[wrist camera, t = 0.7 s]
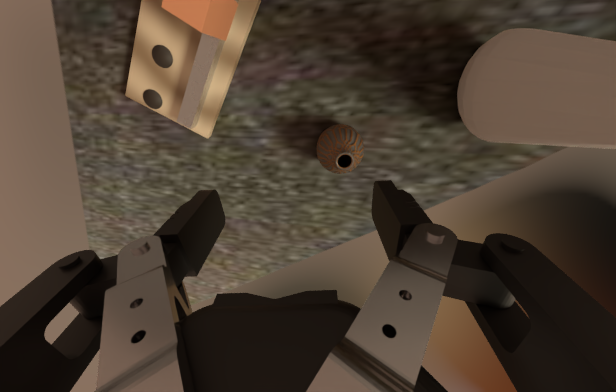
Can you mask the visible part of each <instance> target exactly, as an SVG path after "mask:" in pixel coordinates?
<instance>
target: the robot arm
mask: <svg viewBox="0 0 616 392" xmlns="http://www.w3.org/2000/svg"><path fill="white" fill-rule="evenodd" d="M372 218H373V221H374V224H375V226H376V229H377V231H378V234H379V236H380V239H381V241H382V244H383V246H384V249H385V251H386V253H387V256H388V259H389V261H390V262H389V263H388V265H387V267H386V268H385V270H384V272H383V274H382V275H381V277H380V278H379V280H378V282H377V283H376V285H375V287H374V289H373V290H372V292H371V293H370V295H369V297H368V298H367V300H366V302H365V304H364V305H363V307H362V308H361V309H360V308H358V307H357V306H355V305H353V304H351V303H348V302H345V301H341V300H338V299H337V291H336V290H322V291H305V292H301V293H297V294H293V295H290V296H286V297H282V298H278V299H271V298H267V297H262V296H257V295H253V294H249V293H227V294H217V296H216V298H215V300H214V303H213V304H212V305H209V306H206V307H204V308H201V309H199V310H197V311H195V312H192V309H191V305H190V302H189V298H188V295H187V292H186V288H185V285H184V283H183V279H184V277H187V276H197V275H198V273H199V271H200V269H201V268H202V266H203V264H204V262H205V260H206V259H207V257H208V255H209V253H210V251H211V249H212V248H213V246H214V244H215V242H216V240H217V239H218V237H219V235H220V233H221V231H222V229H223V228H224V225H225V214H224V211H223V208H222V204H221V201H220V198H219V195H218V192H217V191H216V190H200V191H198V192H197V194H196V195H195V196H194V197H193V198H192V199H191V200H190V201H188V202H187V203H185V204H183V205H182V206H180V207H179V209H178V210H177V211H176V212H175V214H173V215H172V216H171V217H170V219H168V220H167V221H166V222H165V223H164V224H163V226H162V227H161V228H160V229H159V230H158V231H157V232H156V233H155V234H154V235H152V236H145V237H141V238H138V239H136V240H134V241H132V242H130V243H129V244H127V245H126V246H124V247H123V248H122V249H121V250H120V252H119V253H118V255H116V256H112V257H108V258H104V259H100V258H99V257H98V256H97V254H96V253H95V252H94V251H92V250H84V251H79V252H76V253H73V254H71V255H68V256H66V257H64V258H62V259H60V260H59V261H57V262H55V263H54V264H53V265H51V266H50V267H49V268H48V269H46V270H45V271H44V272H43V273H41V274H40V275H39V276H38V277H36V278H35V279H34V280H33V281H31V282H30V283H29V284H28V285H27V286H25V287H24V288H23V289H22V290H20V291H19V292H18V293H17V294H15V295H14V296H13V297H12V298H10V299H9V300H8V301H7V302H5V303H4V304H3V305H2V306H1V307H0V392H70V391H71V389H72V388H73V386H74V385H75V383H76V382H77V381H78V379H79V378H80V376H81V375H82V373H83V372H84V370H85V369H86V368H87V366H88V365H89V363H90V362H91V361H92V359H93V358H94V356H95V355H96V353H97V352H98V351H99V349H100V354H99V366H98V377H97V387H96V391H95V392H448V391H447V390H446V389H445V388H444V387H443V386H442V385H441V384H440V383H439V382H438V381H437V380H436V379H434V377H433V376H432V375H430V374H429V372H427V370H426V369H425V368H424V367H423V366H422V365H421V364H422V360H423V357H424V354H425V351H426V347H427V344H428V341H429V337H430V334H431V331H432V327H433V324H434V320H435V317H436V314H437V311H438V307H439V304H440V300H441V297H442V296H447V297H451V298H455V299H459V300H463V301H465V302H466V304H467V306H468V308H469V309H470V311H471V313H472V314H473V316H474V318H475V320H476V321H477V323H478V325H479V327H480V328H481V330H482V332H483V333H484V335H485V337H486V338H487V340H488V342H489V344H490V345H491V347H492V349H493V350H494V352H495V354H496V356H497V358H498V359H499V361H500V362H501V364H502V366H503V368H504V369H505V371H506V373H507V375H508V376H509V378H510V380H511V382H512V383H513V385H514V387H515V388H516V390H517V392H616V318H615V317H614V316H613V315H612V314H611V313H609V312H608V311H607V310H606V309H605V308H604V307H603V306H602V305H600V304H599V303H598V302H597V301H596V300H595V299H593V298H592V297H591V296H590V295H589V294H588V293H587V292H586V291H584V290H583V289H582V288H581V287H580V286H579V285H577V284H576V283H575V282H574V281H573V280H572V279H571V278H570V277H568V276H567V275H566V274H565V273H564V272H563V271H562V270H560V269H559V268H558V267H557V266H556V265H555V264H553V262H551V261H550V260H549V259H548V258H547V257H546V256H545V255H543V254H542V253H541V252H540V251H539V250H538V249H537V248H535V247H534V246H533V245H531V244H530V243H528V242H527V241H524V240H523V239H520V238H518V237H515V236H512V235H507V234H500V233H496V234H490V235H488V236H487V237H486V239H485V241H484V243H483V244H481V243H475V242H468V241H463V240H458V239H457V236H456V235H455V234H454V233H453V232H452V231H451V230H450V229H448V228H446V227H444V226H441V225H438V224H433V223H432V221H431V220H430V219H429V217H428V216H427V215H426V214H425V212H424V211H423V210H422V208H421V207H420V206H419V204H418V203H417V202H416V201H415V199H414V198H413V197H412V195H411V194H409V193H407V192H406V191H404V190H397V188H396V187H395V185H394V184H393V182H392V181H391V180H389V181H375V183H374V188H373V199H372ZM515 299H516V300H517V301H518V302H519V304H520V305H521V306H522V307H523V309H524V310H525V311H526V313H527V314H528V316H529V318H528V317H527V316H526V314H525V313H524V312H523V311H522V309H521V308H520V307H519V306H518V304H517V303H516V302H515ZM69 302H70V303H71V304H72V306H74V308H75V309H76V310H77V311H78V312H79V314H78V315H77V317H76V318H75V319H74V320H73V321H72V322H71V323H70V325H69V326H68V327H67V328H66V329H65V330H64V331H63V332H62V334H61V335H60V336H59V337H58V338H57V339H56V340H55V341H54V343H53V344H52V345H51V344H50V343H48V342H47V341H46V340H45V337H44V332H45V329H46V327H47V325H48V324H49V323H50V321H51V320H52V319H53V318H54V317H55V316H56V315H57V314H58V313H59V312H60V311H61V310H62V309H63V308H64V307H65V306H66V305H67V304H68V303H69Z"/></svg>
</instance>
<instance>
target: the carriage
mask: <svg viewBox="0 0 616 392" xmlns="http://www.w3.org/2000/svg"><path fill="white" fill-rule="evenodd" d="M161 7H162V8H164V9H165V10H167V11H168V12H170V13H172V14H173V15H175V16H176V17H178V18H179V19H181V20H183V21H184V22H186V23H187V24H189V25H190V26H192V27H194V28H195V29H197V30H198V31H200V32H201V33H204V34H207V35H210V36H213V37H215V38H218V39H221V40H224V41H226V39H227V36H228V33H229V31H230V28H231V25H232V22H233V19H234V16H235V13H236V10H237V7H238V3H237V2H236V1H235V0H163V1H162V6H161Z"/></svg>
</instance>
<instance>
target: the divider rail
mask: <svg viewBox="0 0 616 392" xmlns="http://www.w3.org/2000/svg"><path fill="white" fill-rule="evenodd" d="M235 1H236V2H237V3H238V1H239V0H235ZM224 43H225V41H224V40H221V39H218V38H215V37H213V36H210V35H207V34H204V33H202V36H201V39H200V43H199V46H198V49H197V53H196V56H195V60H194V63H193V67H192V70H191V74H190V77H189V80H188V84H187V87H186V91H185V94H184V98H183V101H182V105H181V108H180V112H179V115H178V118H177V122H178V123H180V124H182V125H184V126H186V127H188V128H190V129H192V128H194V127H196V126H197V124H198V121H199V118H200V115H201V112H202V109H203V106H204V103H205V100H206V97H207V94H208V91H209V88H210V85H211V82H212V79H213V76H214V73H215V70H216V67H217V64H218V61H219V58H220V55H221V52H222V49H223V46H224Z"/></svg>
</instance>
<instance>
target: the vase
mask: <svg viewBox="0 0 616 392" xmlns="http://www.w3.org/2000/svg"><path fill="white" fill-rule="evenodd" d="M316 151H317V157H318V159H319V161H320V163H321V164H322V166H323V167H324V168H326V169H327V170H329V171H331V172H333V173H338V174H342V173H347V172H350V171H352V170H353V169H355V168H356V167H357V166H358V165H359V163H360V162H361V160H362V157H363V154H364V144H363V140H362V138H361V136H360V134H359V133H358V132H357V131H356V130H355V129H354V128H352V127H350V126H348V125H344V124H337V125H333V126H330V127H328V128H327V129H326V130H324V131H323V132H322V134H321V135H320V137H319V139H318V141H317V147H316Z"/></svg>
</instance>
